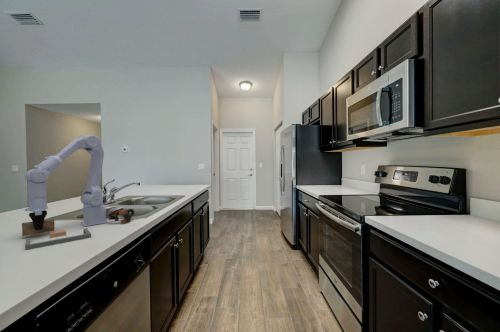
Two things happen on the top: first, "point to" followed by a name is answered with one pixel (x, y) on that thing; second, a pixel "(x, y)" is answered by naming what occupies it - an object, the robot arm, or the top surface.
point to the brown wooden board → (30, 230)
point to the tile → (57, 233)
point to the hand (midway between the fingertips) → (38, 229)
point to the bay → (57, 240)
